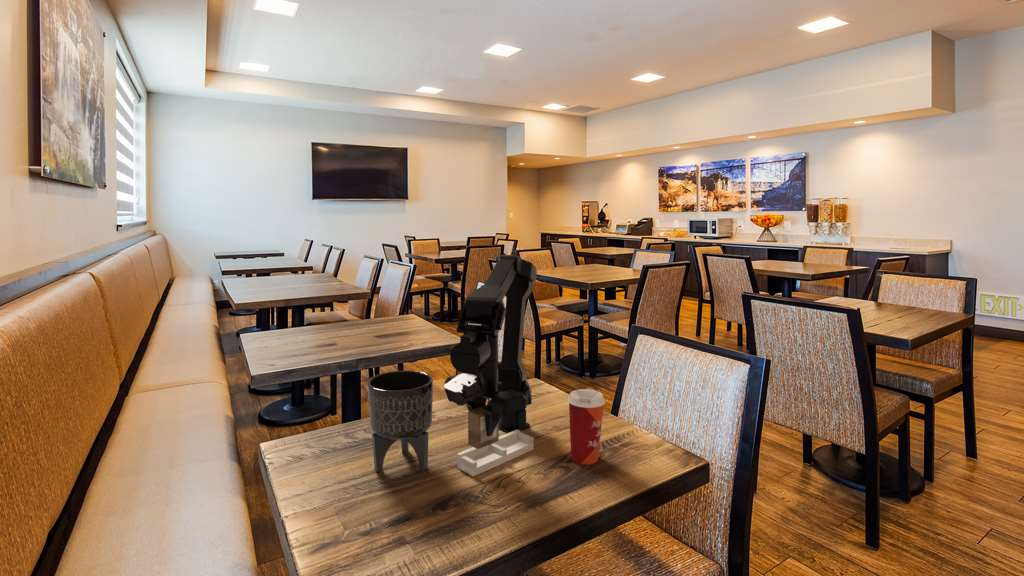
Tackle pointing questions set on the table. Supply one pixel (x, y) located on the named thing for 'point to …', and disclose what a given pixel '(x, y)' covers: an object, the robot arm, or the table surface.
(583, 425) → the paper cup
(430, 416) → the planter
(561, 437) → the table surface
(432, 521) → the table surface
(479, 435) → the tall taupe pillar block
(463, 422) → the table surface
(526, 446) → the white tray base
